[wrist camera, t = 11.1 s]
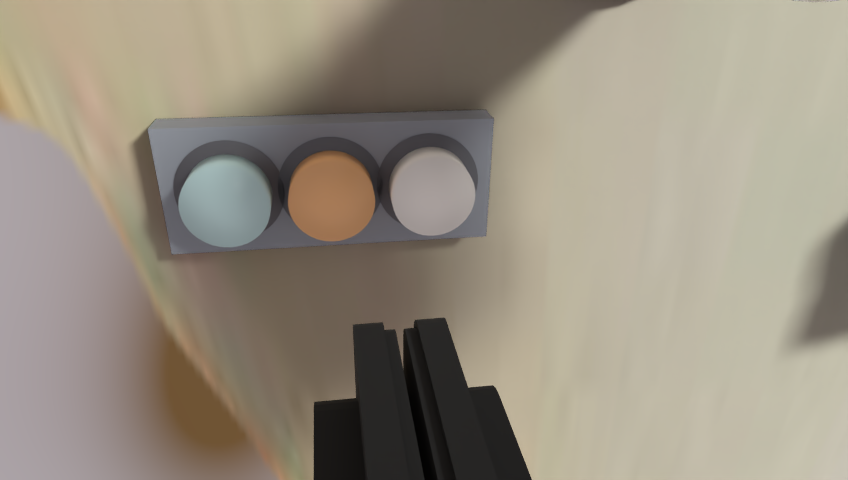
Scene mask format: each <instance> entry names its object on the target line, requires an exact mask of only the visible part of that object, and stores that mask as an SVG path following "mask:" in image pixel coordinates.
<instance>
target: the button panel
mask: <svg viewBox="0 0 848 480" xmlns="http://www.w3.org/2000/svg"><path fill="white" fill-rule="evenodd" d="M493 124H494V118H493V117H492V116H491V115H490V114H489V112H488V111H487V110H457V111H421V112H386V113H351V114H316V115H281V116H245V117H210V118H175V119H155V120H154V122H153V123H152V124H151V125H150V127H149V128H148V134H149V139H150V144H151V149H152V154H153V160H154V165H155V170H156V175H157V180H158V186H159V191H160V196H161V201H162V206H163V212H164V217H165V222H166V227H167V232H168V237H169V243H170V248H171V253H172V254H188V253H205V252H222V251H240V250H257V249H274V248H291V247H309V246H326V245H343V244H360V243H378V242H395V241H412V240H429V239H447V238H464V237H481V236H486V230H487V215H488V200H489V185H490V170H491V154H492V139H493ZM423 147H438V148H443V149H446V150H448V151H450V152H452V153H453V154H455V155H456V156H457V157H458V158H459V159H460V160H461V161H462V163H463V164H464V166H465V168H466V169H467V171H468V173H469V174H470V176H471V178H472V180H473V183H474V186H475V202H474V206H473V208H472V211H471V213H470V214H469V216H468V217H467V219H466V220H465V221H464V222H463V223H462V224H461V225H460V226H458V227H457V228H455V229H454V230H452V231H450V232H448V233H445V234H441V235H435V236H427V235H421V234H417V233H415V232H412V231H411V230H409V229H407V228H406V227H405V226H404V225H403V224H402V223H401V222H400V221H399V220H398V218H397V216H396V215H395V212H394V209H393V205H392V202H391V198H390V194H389V180H390V176H391V173H392V171H393V169H394V167H395V166H396V164H397V163H398V162H399V161H400V159H402V158H403V157H404V156H405V155H407V154H408V153H410V152H412V151H414V150H416V149H419V148H423ZM321 151H340V152H344V153H347V154H349V155H351V156H353V157H355V158H356V159H357V160H359V161H360V162H361V163H362V164H363V165H364V166H365V168H366V169H367V171H368V173H369V175H370V177H371V181H372V185H373V190H374V195H375V208H374V213H373V215H372V218H371V220H370V221H369V223H368V224H367V225H366V227H365V228H364V229H363V230H362V231H360V232H359V233H358V234H356V235H354V236H352V237H351V238H348V239H345V240H341V241H322V240H318V239H315V238H313V237H311V236H309V235H307V234H306V233H304V232H303V231H302V230H300V229H299V228H298V226H297V225H296V224H295V223H294V221H293V219H292V217H291V215H290V212H289V207H288V195H289V185H290V180H291V176H292V174H293V172H294V170H295V169H296V167H297V166H298V165H299V163H301V162H302V161H303V160H304V159H305V158H307V157H308V156H310V155H312V154H315V153H317V152H321ZM223 154H228V155H236V156H240V157H243V158H245V159H248V160H249V161H251V162H253V163H254V164H256V165H257V166H258V167H259V168H260V169H261V170H262V171H263V172H264V173H265V175H266V176H267V178H268V180H269V182H270V185H271V188H272V196H273V198H272V206H271V212H270V218H269V221H268V224H267V226H266V228H265V229H264V231H263V232H262V233H261V234H260V235H259V236H258V237H257V238H256V239H254V240H253V241H251V242H249V243H247V244H244V245H241V246H237V247H218V246H214V245H211V244H208V243H205V242H203V241H201V240H200V239H198V238H197V237H196V236H194V235H193V234H192V233H191V232H190V231H189V230H188V229H187V227H186V226H185V225H184V223H183V221H182V219H181V216H180V213H179V207H178V201H179V195H180V192H181V189H182V187H183V185H184V183H185V181H186V179H187V177H188V175H189V174H190V172H191V171H192V169H193V168H194V167H195V166H196V165H197V164H198V163H200V162H201V161H203V160H204V159H206V158H209V157H212V156H216V155H223Z"/></svg>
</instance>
